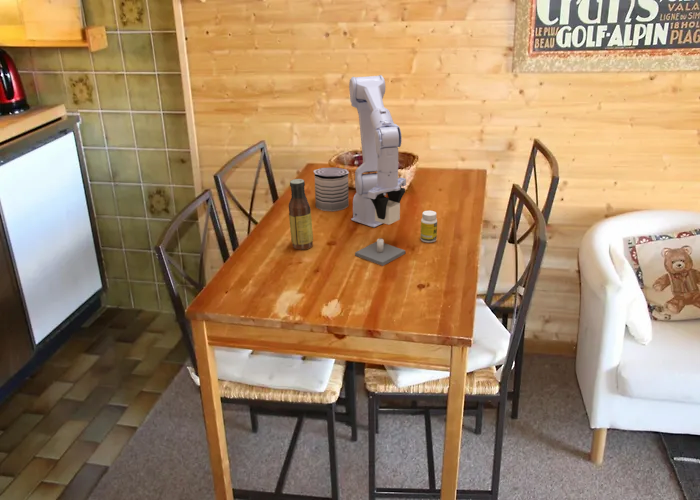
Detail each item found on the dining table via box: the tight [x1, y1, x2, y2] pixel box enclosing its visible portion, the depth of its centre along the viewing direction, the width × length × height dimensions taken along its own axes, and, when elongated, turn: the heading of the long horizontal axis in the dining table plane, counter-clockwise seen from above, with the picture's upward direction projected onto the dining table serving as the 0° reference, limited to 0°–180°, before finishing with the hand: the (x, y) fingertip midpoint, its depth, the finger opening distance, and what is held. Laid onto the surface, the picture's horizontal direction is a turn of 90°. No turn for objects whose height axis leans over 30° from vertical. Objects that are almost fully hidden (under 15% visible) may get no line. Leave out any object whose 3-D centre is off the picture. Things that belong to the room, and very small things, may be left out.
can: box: [313, 167, 350, 212], centre depth 231 cm, size 11×11×12 cm
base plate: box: [354, 238, 406, 267], centre depth 199 cm, size 10×10×4 cm
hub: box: [375, 200, 401, 225], centre depth 201 cm, size 5×5×5 cm
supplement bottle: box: [419, 210, 438, 243], centre depth 206 cm, size 5×5×8 cm
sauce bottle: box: [288, 178, 314, 251], centre depth 201 cm, size 7×6×20 cm
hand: (387, 215), depth 202 cm, fingers closed on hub, 5 cm apart
